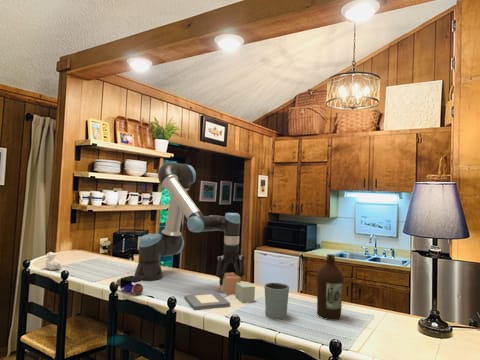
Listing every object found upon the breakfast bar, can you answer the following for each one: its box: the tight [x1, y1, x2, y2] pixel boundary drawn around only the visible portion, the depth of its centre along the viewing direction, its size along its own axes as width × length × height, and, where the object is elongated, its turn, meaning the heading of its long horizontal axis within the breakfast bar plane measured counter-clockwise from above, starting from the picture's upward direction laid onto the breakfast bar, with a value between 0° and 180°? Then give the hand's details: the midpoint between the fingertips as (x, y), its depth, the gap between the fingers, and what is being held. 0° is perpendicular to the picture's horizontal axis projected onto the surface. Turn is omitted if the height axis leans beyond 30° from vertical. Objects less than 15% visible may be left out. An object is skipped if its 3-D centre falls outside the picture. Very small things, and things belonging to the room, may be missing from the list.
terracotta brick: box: [218, 272, 242, 296], centre depth 170 cm, size 10×7×8 cm
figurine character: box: [116, 275, 146, 296], centre depth 162 cm, size 7×8×15 cm
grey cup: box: [264, 282, 290, 320], centre depth 139 cm, size 10×10×12 cm
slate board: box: [184, 292, 231, 311], centre depth 152 cm, size 16×16×2 cm
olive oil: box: [316, 253, 344, 320], centre depth 142 cm, size 11×11×25 cm
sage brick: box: [234, 281, 256, 304], centre depth 158 cm, size 8×6×7 cm
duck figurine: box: [45, 251, 62, 271], centre depth 198 cm, size 12×8×11 cm
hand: (229, 290), depth 170 cm, fingers closed on terracotta brick, 7 cm apart
